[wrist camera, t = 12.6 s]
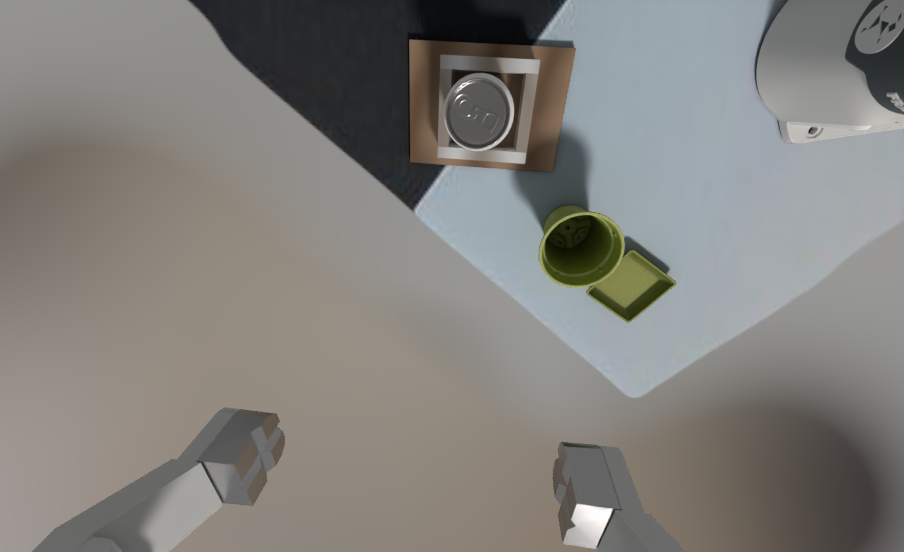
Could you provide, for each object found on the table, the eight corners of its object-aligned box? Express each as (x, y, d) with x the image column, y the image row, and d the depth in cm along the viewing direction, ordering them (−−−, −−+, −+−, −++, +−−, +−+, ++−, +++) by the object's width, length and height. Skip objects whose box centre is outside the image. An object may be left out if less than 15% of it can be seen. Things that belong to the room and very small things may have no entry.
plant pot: (517, 238, 48) (523, 266, 40) (557, 178, 44) (571, 197, 36) (573, 267, 49) (589, 300, 42) (617, 212, 45) (643, 237, 37)
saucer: (581, 286, 51) (584, 293, 49) (627, 242, 47) (632, 248, 45) (623, 315, 53) (628, 323, 51) (671, 276, 49) (678, 283, 47)
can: (471, 64, 38) (461, 55, 28) (521, 93, 39) (530, 96, 28) (445, 121, 41) (428, 132, 31) (492, 147, 42) (491, 167, 31)
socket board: (572, 49, 38) (585, 43, 33) (550, 170, 44) (557, 179, 39) (412, 41, 39) (401, 34, 34) (412, 160, 45) (403, 168, 40)
